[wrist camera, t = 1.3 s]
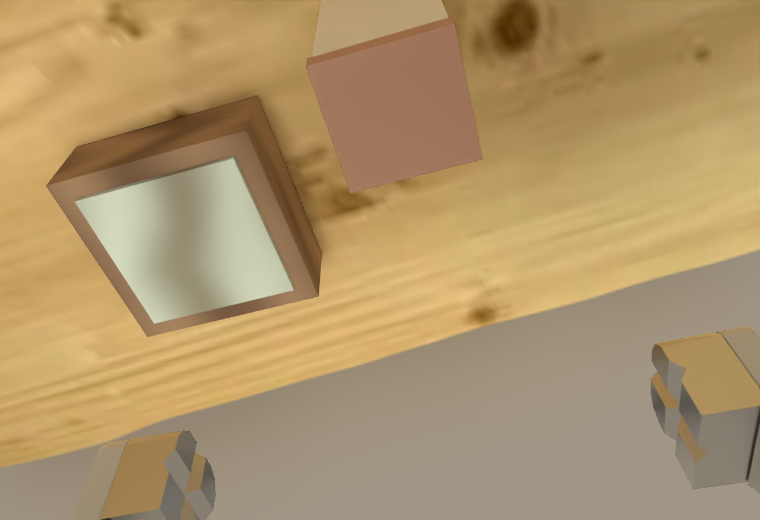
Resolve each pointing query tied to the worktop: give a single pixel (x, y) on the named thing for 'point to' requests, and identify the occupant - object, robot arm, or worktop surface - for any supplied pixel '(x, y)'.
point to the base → (193, 218)
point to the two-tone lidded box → (392, 89)
